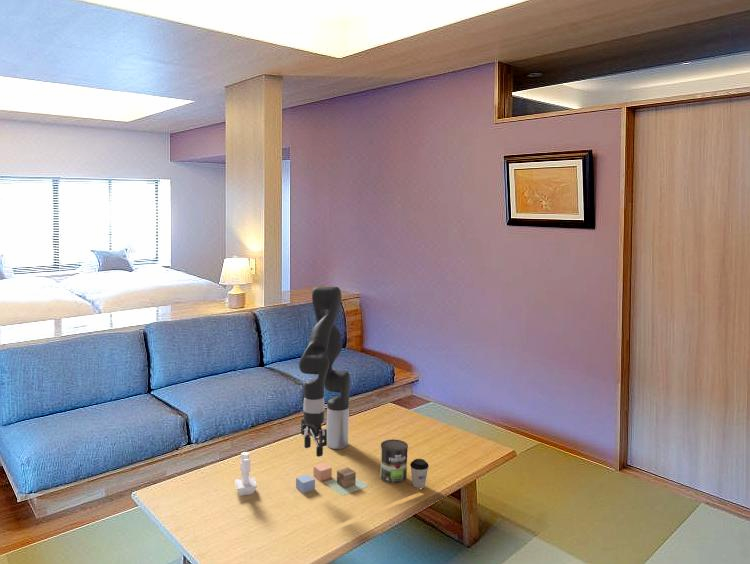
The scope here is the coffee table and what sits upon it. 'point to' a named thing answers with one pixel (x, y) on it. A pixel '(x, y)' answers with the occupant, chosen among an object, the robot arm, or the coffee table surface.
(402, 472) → the coffee can
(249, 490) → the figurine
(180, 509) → the coffee table surface
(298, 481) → the slate block
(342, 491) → the baseplate
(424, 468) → the coffee cup
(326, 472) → the terracotta block
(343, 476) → the walnut block
